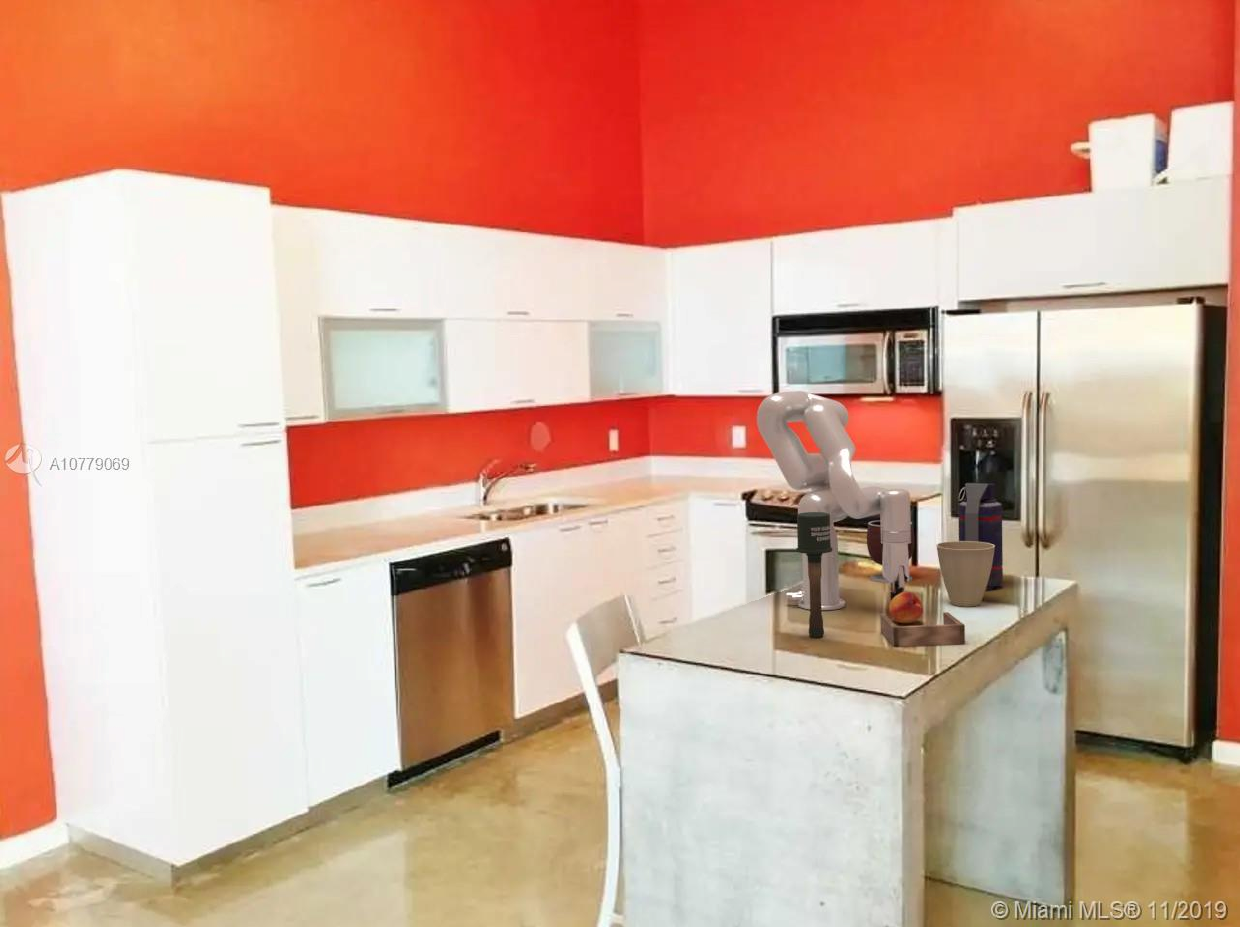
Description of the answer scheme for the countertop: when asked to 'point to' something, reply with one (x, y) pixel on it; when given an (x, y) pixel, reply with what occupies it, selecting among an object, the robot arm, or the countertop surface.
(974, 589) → the plant pot
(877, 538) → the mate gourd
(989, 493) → the smoke canister
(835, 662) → the countertop surface
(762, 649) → the countertop surface
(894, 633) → the box
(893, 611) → the fruit
